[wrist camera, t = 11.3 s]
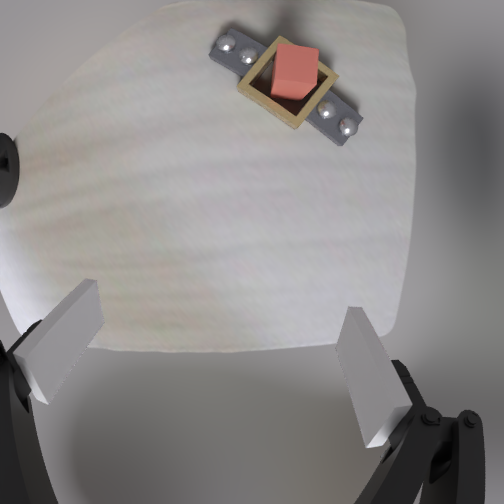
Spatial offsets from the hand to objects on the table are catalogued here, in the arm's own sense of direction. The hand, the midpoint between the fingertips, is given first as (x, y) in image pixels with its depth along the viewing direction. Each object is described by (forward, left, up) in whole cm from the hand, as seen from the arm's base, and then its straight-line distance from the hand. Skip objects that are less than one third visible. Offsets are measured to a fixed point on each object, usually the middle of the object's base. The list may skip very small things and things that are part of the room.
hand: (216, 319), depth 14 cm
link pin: (-5, +17, -27) cm, 32 cm away
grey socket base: (-5, +17, -27) cm, 32 cm away
